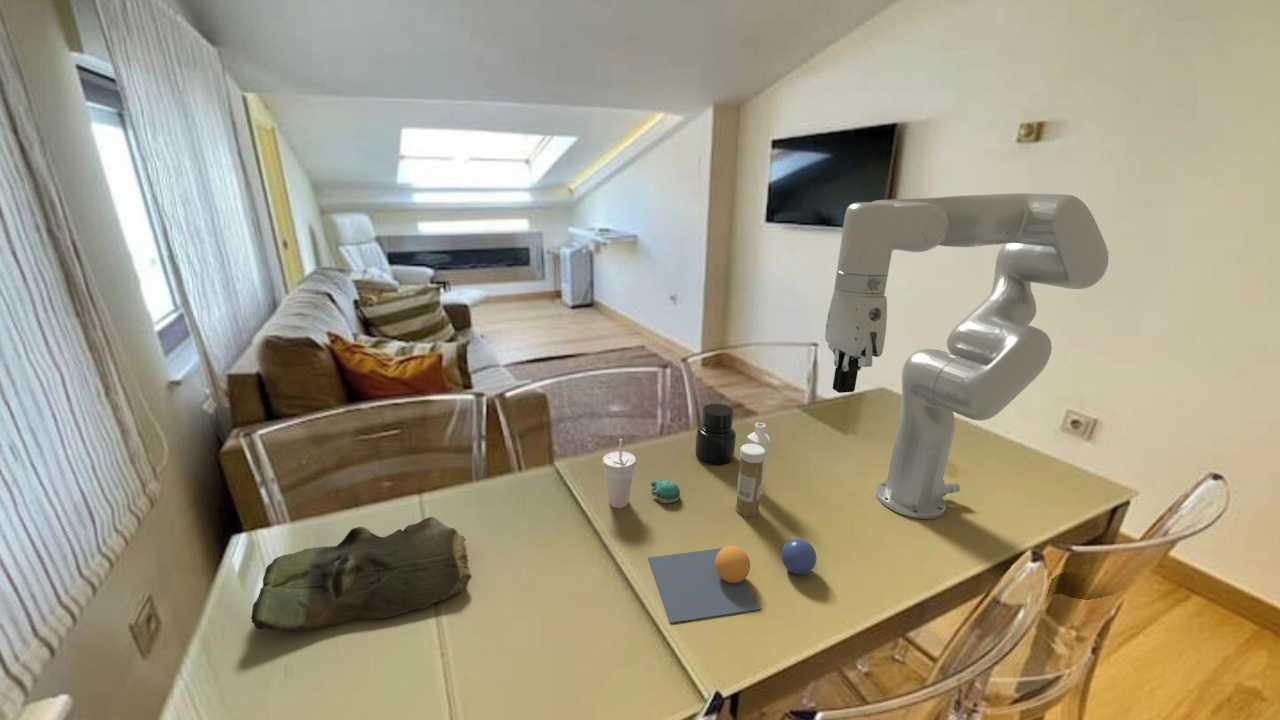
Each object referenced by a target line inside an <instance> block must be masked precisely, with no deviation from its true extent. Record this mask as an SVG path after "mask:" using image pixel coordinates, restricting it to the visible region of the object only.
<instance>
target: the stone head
mask: <svg viewBox="0 0 1280 720" xmlns="http://www.w3.org/2000/svg"><path fill="white" fill-rule="evenodd" d="M465 541H466V538H465V537H464V535H461V534H460V533H459V532H458V530H456V528H453V527H449V526H447V525H445V524H444V523H442V522H441V521H440V520H439V519H437V518H436V517H434V516H431V517H426V518H424V519H422V520H420V521H419V522H417V523H412V524H409V525H407V526H406V527H404V529H403V530H402V529H397V530H395V531H394V532H392V533H391V534H388V535H386V536H379V535H377V534H376V533H373V532H372V531H370V529H368V528H366V527H364V526H358V527H353V528H352V529H351V530H349V532H348V533H347V534H346V535H345V536H344V538H343V540H341V542H340V543H338V544H337V545H333V546H318V547H312V548H311V547H310V548H304V549H302V550H300V551H296V552H294V553H289V554H288V553H287V554H283V555H279V556H278V557H276V558H274V559H273V560H272V562H270V563H269V564H268V565H267V567H266V568H265V573H264V575H263V578H262V587H261V588H260V590H259V594H258V597H257V598H256V601H255V602H254V603H253V606H252V610H251V618H250V619H251V622H252V623H253V624H254V627H255V628H256V629H257V630H263V629H266V630H270V631H277V630H278V631H279V630H281V631H288V632H305V631H310V630H316V629H323V628H327V627H332V626H338V625H340V624H342V623H345V622H351V621H358V620H369V619H379V620H381V619H385V618H386V619H387V618H389V617H395V616H397V615H399V614H404V613H406V612H409V611H414V610H417V609H425V608H428V606H430V605H432V604H434V603H438V602H442V601H445V600H447V599H449V598H450V597H452V596H454V595H457V594H460V593H461V592H463V591H465V589H467V587H468V585H469V582H470V580H472V574H471V572H470V568H469V566H468V565H469V559H468V553H467V546H466V544H465Z"/></svg>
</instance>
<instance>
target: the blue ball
mask: <svg viewBox="0 0 1280 720" xmlns="http://www.w3.org/2000/svg"><path fill="white" fill-rule="evenodd" d="M780 557H781V560H782V563H783V566H784V567H785V568H786V570H788V571H789V572H790V573H793V574H795V575H801V576H802V575H807V574H809V573H810V572H811V571H813V569H815V566H816V565H817V564H816V563H817V553H816V550H815V548H814V546H813V545H812V544H811V543H810V542H809V541H807V540H805V539H803V538H798V537H797V538H792V539H790V540H788V541H786V543H784V545H783V547H782V548H781V553H780Z"/></svg>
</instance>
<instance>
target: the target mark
mask: <svg viewBox="0 0 1280 720" xmlns="http://www.w3.org/2000/svg"><path fill="white" fill-rule="evenodd" d="M723 548H724V547H721V548H713V549H706V550H698V551H697V550H696V551H689V552H682V553H681V552H680V553H675V554H673V553H672V554H666V555H665V554H664V555H658V556H649V557H647V559H648V562H649V566H650V569H651V571H652V574H653V577H654V580H655V582H656V586H657V588H658V591H659V595H660V599H661V601H662V604H663V606H664V609H666V610H665V613H666V612H667V613H666V615H668V616H667V619H668V618H669V619H668V622H669V621H670V622H669V624H670V623H672V624H676V623H675V622H678V623H682V622H681V621H685V622H688V621H687V620H691V621H696V620H695V619H698V620H704V619H708V618H709V617H711V618H716V617H723V615H724V616H729V615H735V614H741V613H742V614H743V613H749V612H754V611H756V612H757V611H761V610H762V607H761V606H760V604H759V603H758V601H757V599H756V597H755V595H754V593H753V592H752V589H751V588H750V587H749V584H748V583H747V581H746V578H745V579H744V580H743V581H741V582H738V583H729V582H727V581H725V580H723V579H722V578H721V577H720V576H719V575H718V573H717V571H716V567H715V559H716V556H717V554H718V553H719V551H720V550H721V549H723ZM703 618H704V619H703ZM709 619H710V618H709Z"/></svg>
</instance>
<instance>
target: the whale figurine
mask: <svg viewBox="0 0 1280 720" xmlns="http://www.w3.org/2000/svg"><path fill="white" fill-rule="evenodd" d="M650 486H651V487H653V489H654V490H652V491H651V495H652V496H653V497H655V498H656V499H657V500H658V502H660V503H663V504H672V503H675V502H677V501H678V500H679V499H680V495H681V490H680V487H679V486H678V485H677V483H675V482H673V481H668V480H662V479H657V480H652V481H651V482H650Z"/></svg>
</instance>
